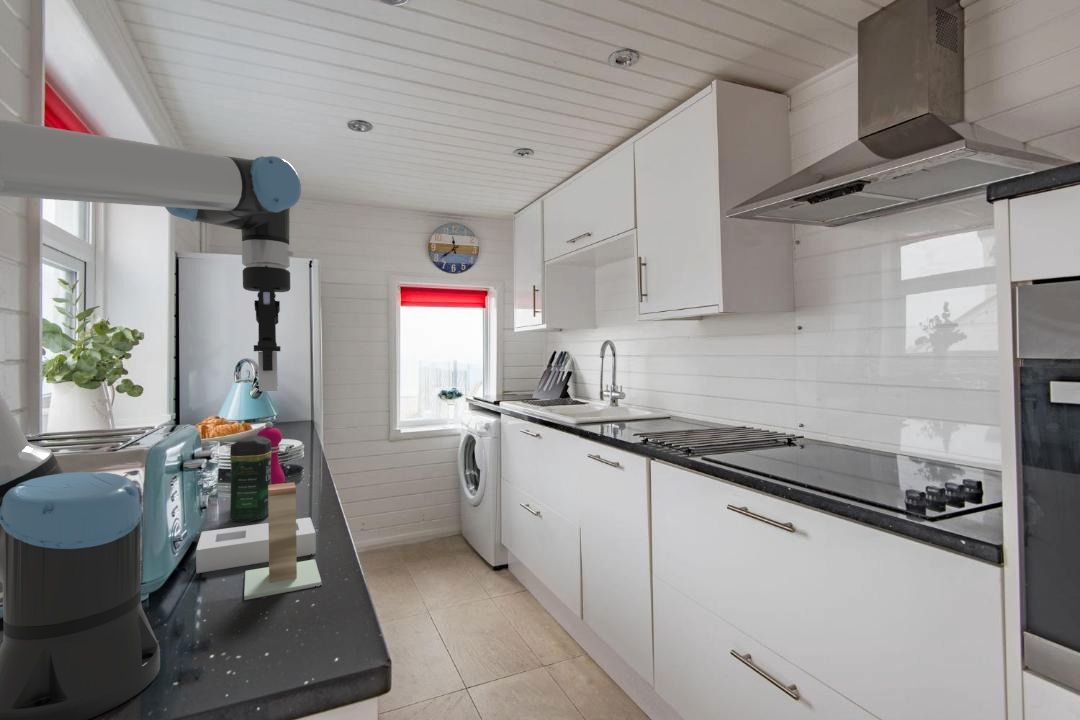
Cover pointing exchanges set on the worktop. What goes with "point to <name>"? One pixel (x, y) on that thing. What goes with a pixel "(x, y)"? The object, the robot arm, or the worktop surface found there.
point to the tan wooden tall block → (282, 532)
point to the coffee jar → (250, 478)
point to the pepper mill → (274, 452)
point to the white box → (247, 545)
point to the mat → (261, 586)
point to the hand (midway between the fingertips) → (268, 388)
